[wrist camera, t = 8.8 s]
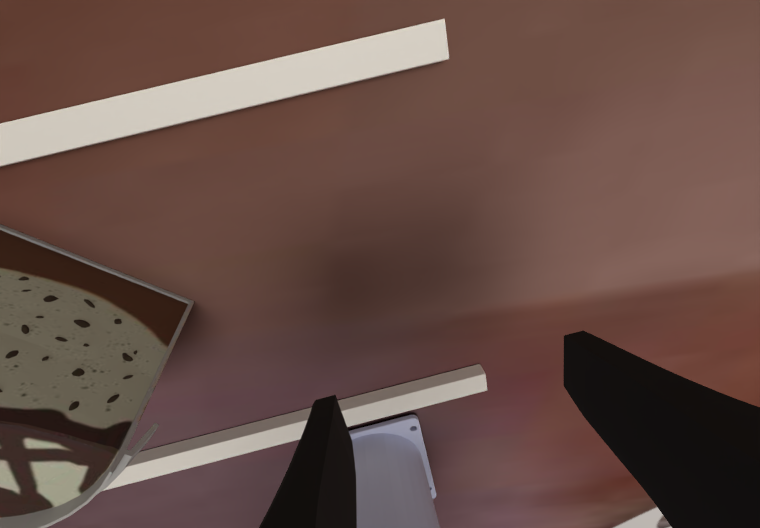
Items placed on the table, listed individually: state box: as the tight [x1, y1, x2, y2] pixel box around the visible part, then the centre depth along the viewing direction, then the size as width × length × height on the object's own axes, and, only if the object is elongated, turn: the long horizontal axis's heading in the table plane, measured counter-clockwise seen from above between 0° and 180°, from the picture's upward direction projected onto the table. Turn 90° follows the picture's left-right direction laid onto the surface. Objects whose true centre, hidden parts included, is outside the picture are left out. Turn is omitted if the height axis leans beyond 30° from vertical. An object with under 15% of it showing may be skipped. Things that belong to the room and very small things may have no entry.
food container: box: [0, 224, 194, 528], centre depth 15 cm, size 12×6×10 cm, turn 59°
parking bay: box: [0, 19, 487, 491], centre depth 20 cm, size 22×32×1 cm
